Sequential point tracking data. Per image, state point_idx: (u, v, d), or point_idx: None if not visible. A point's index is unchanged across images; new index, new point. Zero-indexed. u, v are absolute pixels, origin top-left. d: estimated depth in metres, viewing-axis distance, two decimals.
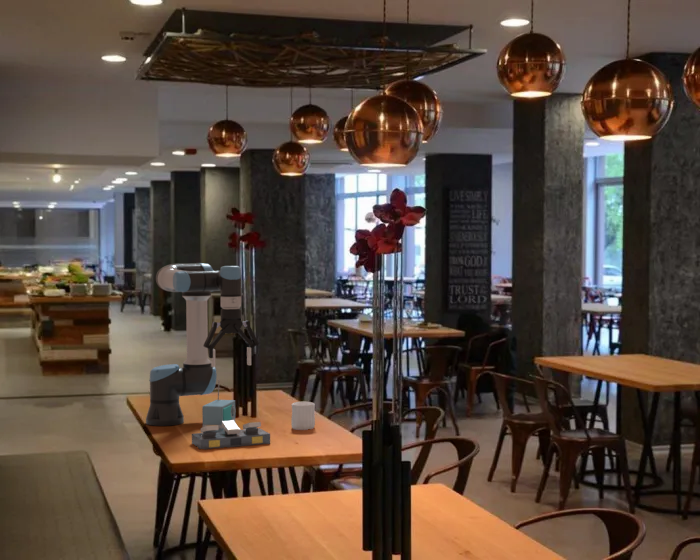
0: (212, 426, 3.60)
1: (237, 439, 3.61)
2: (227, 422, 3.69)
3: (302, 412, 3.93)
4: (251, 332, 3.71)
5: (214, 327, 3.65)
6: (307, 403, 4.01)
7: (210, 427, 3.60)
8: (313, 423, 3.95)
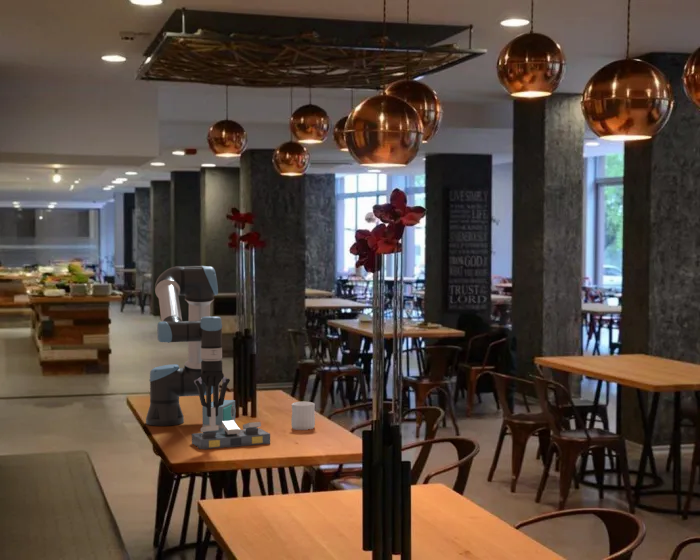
0: (212, 426, 3.60)
1: (237, 439, 3.61)
2: (227, 422, 3.69)
3: (302, 412, 3.93)
4: (224, 390, 3.60)
5: (198, 385, 3.56)
6: (307, 403, 4.01)
7: (210, 427, 3.60)
8: (313, 423, 3.95)
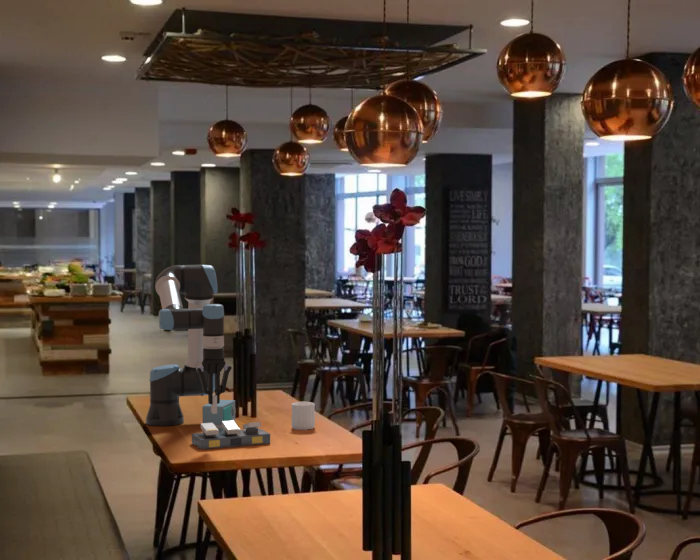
0: (212, 431, 3.60)
1: (237, 439, 3.61)
2: (227, 422, 3.69)
3: (302, 412, 3.93)
4: (226, 378, 3.62)
5: (200, 373, 3.58)
6: (307, 403, 4.01)
7: (210, 432, 3.60)
8: (313, 423, 3.95)
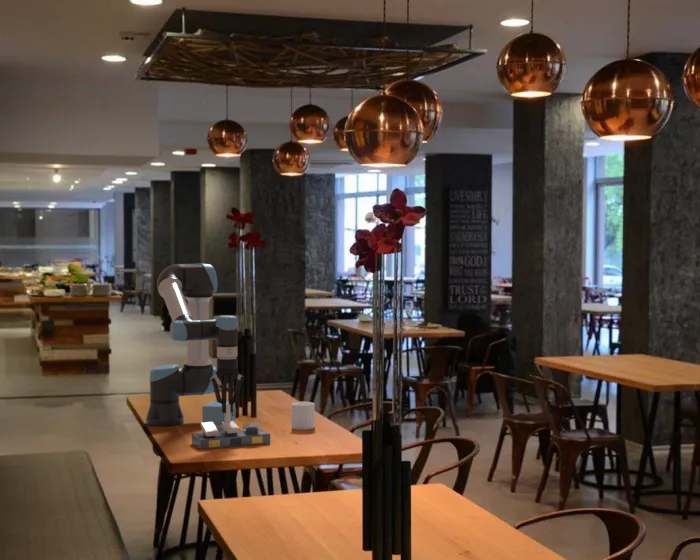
0: (212, 432, 3.60)
1: (237, 439, 3.61)
2: (227, 423, 3.69)
3: (302, 412, 3.93)
4: (239, 388, 3.71)
5: (214, 383, 3.67)
6: (307, 403, 4.01)
7: (210, 433, 3.60)
8: (313, 423, 3.95)
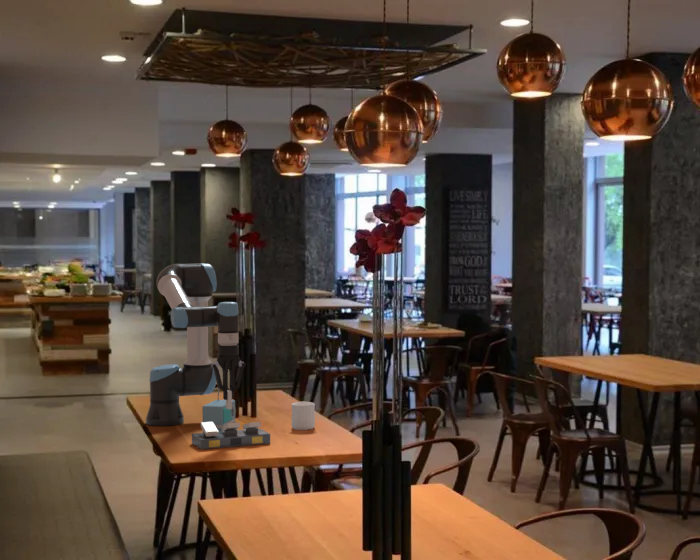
0: (212, 432, 3.60)
1: (237, 439, 3.61)
2: None
3: (302, 412, 3.93)
4: (241, 374, 3.70)
5: (215, 369, 3.66)
6: (307, 403, 4.01)
7: (210, 433, 3.60)
8: (313, 423, 3.95)
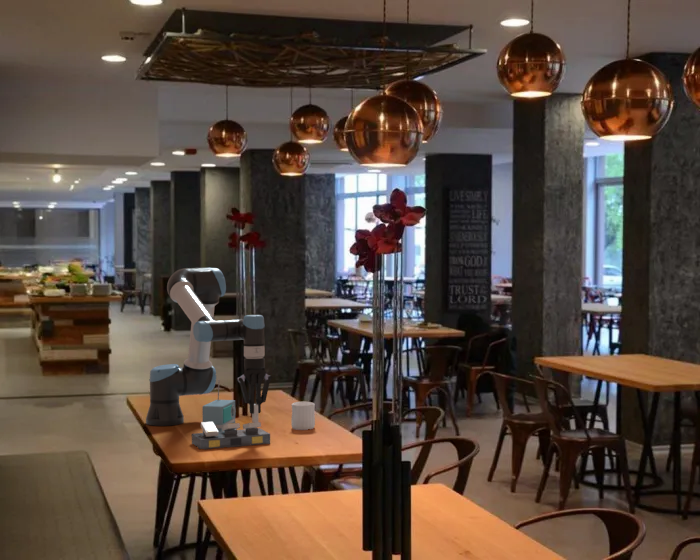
0: (212, 432, 3.60)
1: (237, 439, 3.61)
2: None
3: (302, 412, 3.93)
4: (267, 387, 3.67)
5: (242, 382, 3.63)
6: (307, 403, 4.01)
7: (210, 433, 3.60)
8: (313, 423, 3.95)
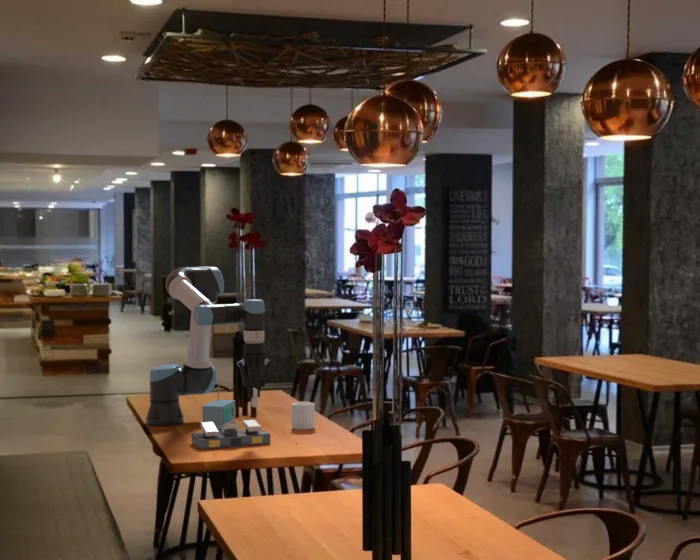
0: (212, 432, 3.60)
1: (237, 439, 3.61)
2: None
3: (302, 412, 3.93)
4: (266, 372, 3.67)
5: (241, 367, 3.63)
6: (307, 403, 4.01)
7: (210, 433, 3.60)
8: (313, 423, 3.95)
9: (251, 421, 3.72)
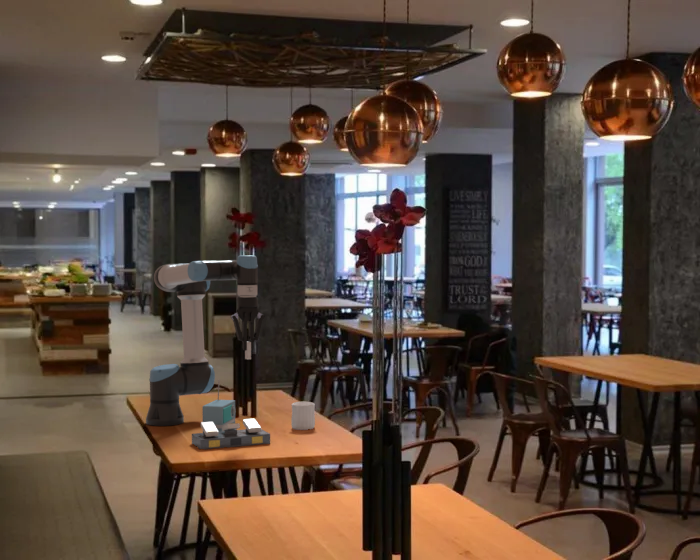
0: (212, 432, 3.60)
1: (237, 439, 3.61)
2: None
3: (302, 412, 3.93)
4: (259, 326, 3.79)
5: (235, 320, 3.75)
6: (307, 403, 4.01)
7: (210, 433, 3.60)
8: (313, 423, 3.95)
9: (251, 420, 3.72)
